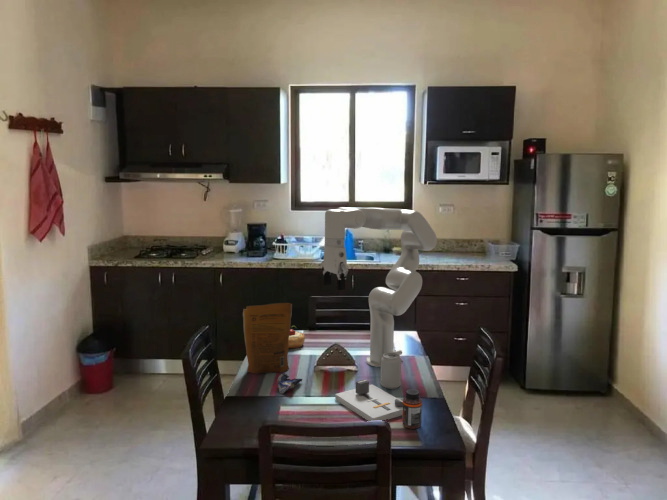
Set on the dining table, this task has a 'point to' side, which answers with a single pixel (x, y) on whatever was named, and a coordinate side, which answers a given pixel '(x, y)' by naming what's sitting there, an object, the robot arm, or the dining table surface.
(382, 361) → the can
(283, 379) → the snack package
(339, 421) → the dining table surface
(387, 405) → the console board
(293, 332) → the pastry
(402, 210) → the robot arm
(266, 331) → the pancake mix bag
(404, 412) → the supplement bottle
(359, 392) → the fader knob
